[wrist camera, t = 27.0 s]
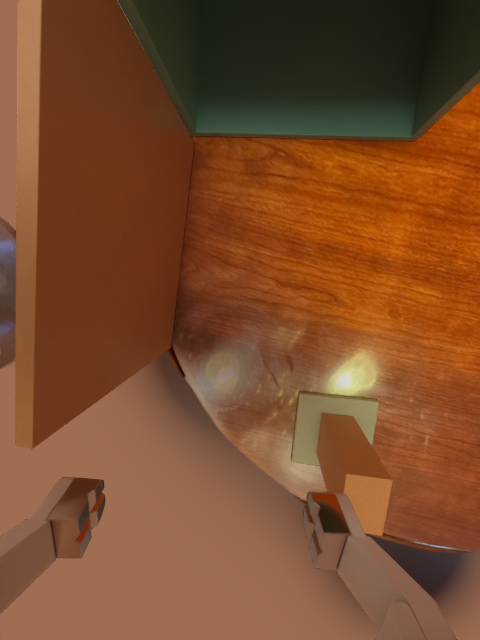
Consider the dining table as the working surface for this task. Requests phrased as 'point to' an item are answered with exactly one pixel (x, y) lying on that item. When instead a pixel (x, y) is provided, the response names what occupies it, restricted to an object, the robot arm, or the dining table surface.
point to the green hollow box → (311, 64)
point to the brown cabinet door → (91, 210)
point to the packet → (354, 469)
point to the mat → (310, 419)
